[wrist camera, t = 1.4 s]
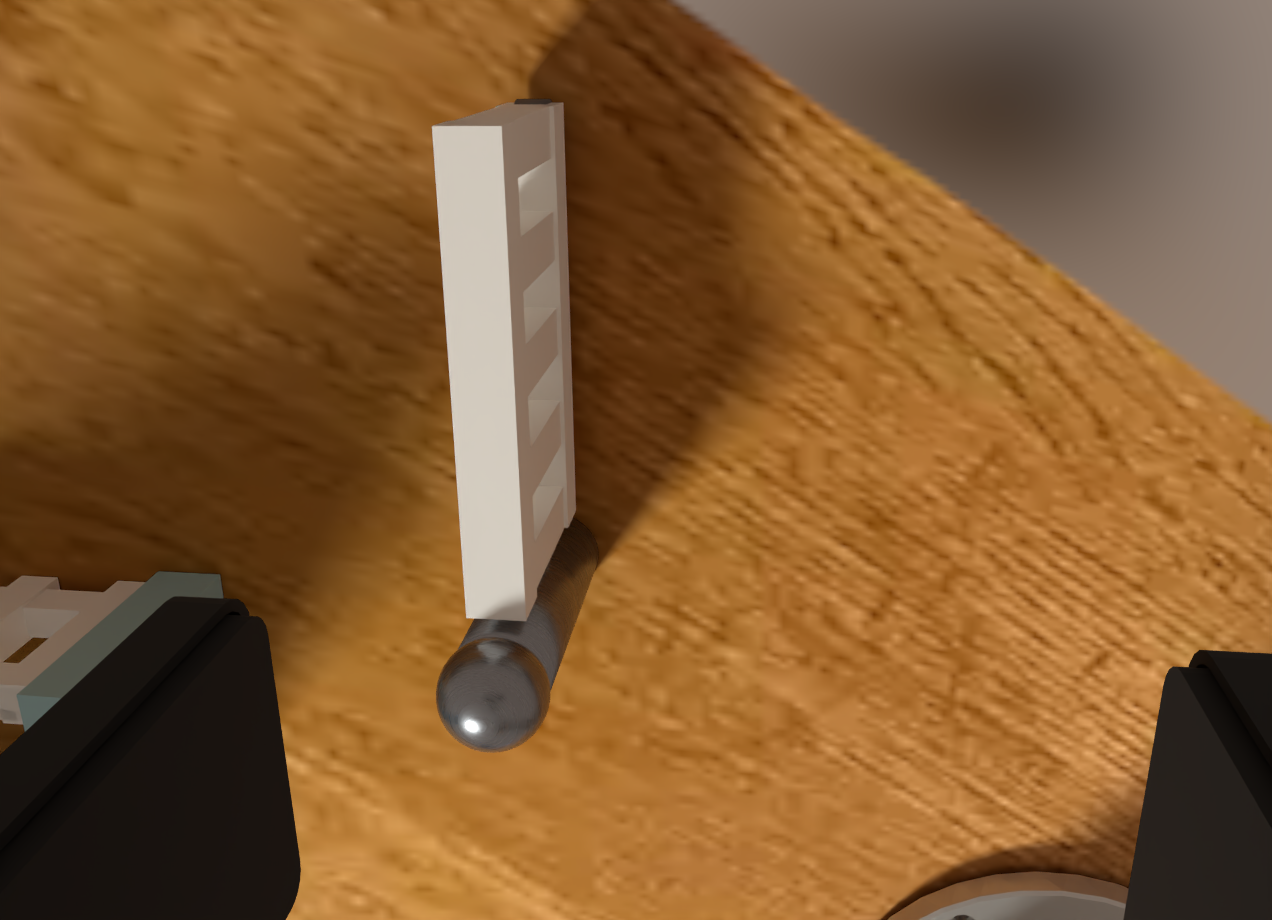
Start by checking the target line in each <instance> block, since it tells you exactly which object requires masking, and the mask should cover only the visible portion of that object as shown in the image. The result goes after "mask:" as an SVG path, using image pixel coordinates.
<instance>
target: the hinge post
mask: <svg viewBox="0 0 1272 920" xmlns="http://www.w3.org/2000/svg"><path fill="white" fill-rule="evenodd" d="M597 563H598V547H597V543H596V541H595V538H594V537H593V535H592V533H591V532H590V531H589V529H588V528H587V527H586V526H585V525H583V524H582V523H581V522H579V521H578V520H576V519H574V518H572V521H571V523H570V525H569V527H568V528H564V530H563V532H562V534H561V537H560V539H559V541H558V543H557V545H556V547H555V550H554V552H553V554H552V556H551V558H550V561H549V563H548V565H547V567H546V569H545V572H544V574H543V576H542V578H541V580H540V582H539V585H538V587H537V598H536V600H535V603H534V605H533V607H532V609H531V612H530V614H529V616H528V618H527V620H526V621H513V620H495V619H477V618H475V619H474V621H473V622H472V624H471V626H470V628H469V630H468V632H467V634H466V635H465V637H464V639H463V641H462V643H461V645H460V647H459V648H458V650H457V651H456V652H455V653H454V654H453V655H452V656H451V657H450V658H449V660H448V661H447V663H446V664H445V665H444V667H443V669H442V671H441V674H440V676H439V679H438V683H437V689H436V703H437V709H438V713H439V716H440V718H441V721H442V723H443V724H444V726H445V728H446V729H447V730H448V732H449V733H450V734H451V735H452V736H453V737H454V738H455V739H456V740H457V741H459V742H460V743H461V744H463V745H465V746H467V747H469V748H471V749H474V750H477V751H481V752H503V751H507V750H510V749H513V748H515V747H517V746H519V745H521V744H523V743H524V742H525V741H527V740H528V739H529V738H531V737H532V736H533V735H534V734H535V732H536V731H537V730H538V729H539V727H540V726H541V724H542V723H543V721H544V719H545V717H546V714H547V711H548V708H549V703H550V691H551V688H552V685H553V683H554V680H555V677H556V675H557V672H558V669H559V666H560V664H561V661H562V658H563V656H564V653H565V650H566V647H567V645H568V642H569V639H570V637H571V634H572V631H573V628H574V626H575V623H576V620H577V618H578V615H579V612H580V609H581V607H582V604H583V601H584V599H585V596H586V593H587V590H588V588H589V585H590V582H591V580H592V577H593V574H594V571H595V569H596V566H597Z"/></svg>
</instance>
